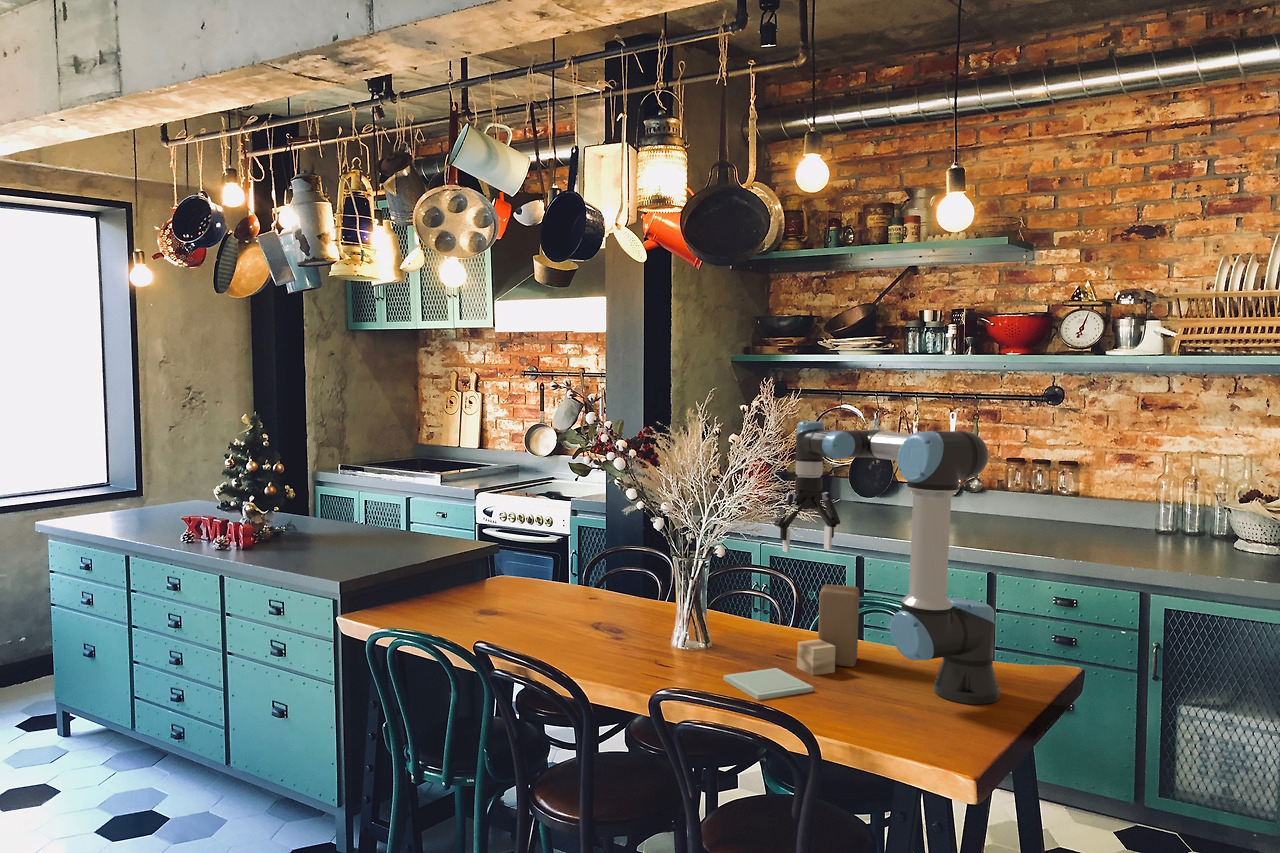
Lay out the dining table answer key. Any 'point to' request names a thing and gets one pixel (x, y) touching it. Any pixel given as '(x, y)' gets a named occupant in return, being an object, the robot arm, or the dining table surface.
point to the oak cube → (816, 657)
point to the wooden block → (840, 621)
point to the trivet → (767, 683)
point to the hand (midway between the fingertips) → (806, 550)
